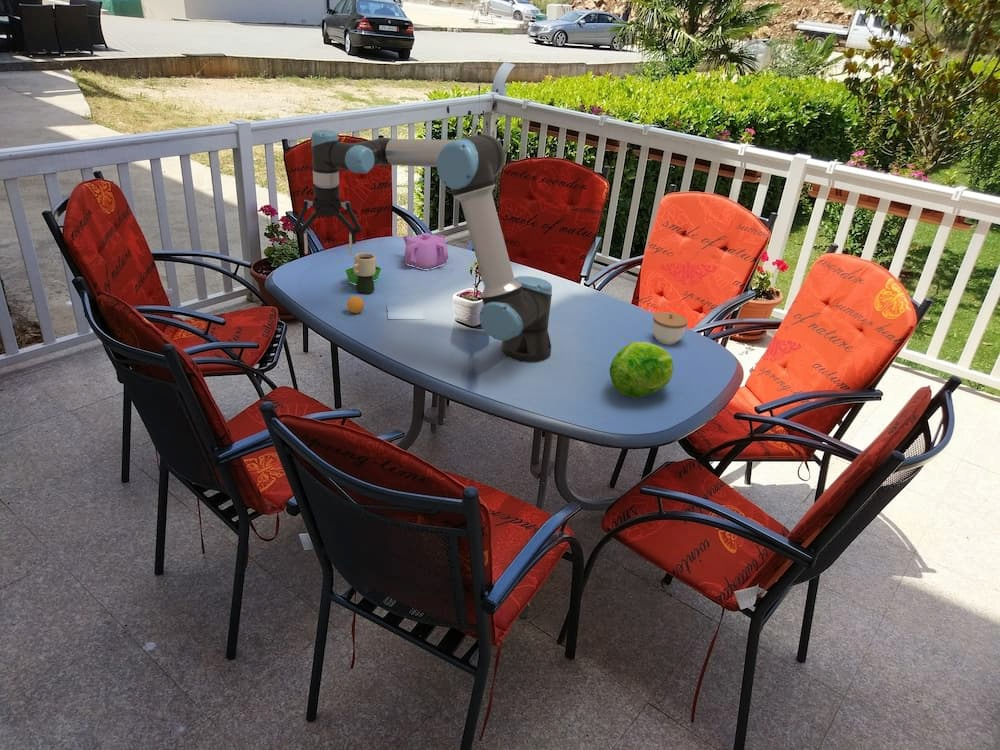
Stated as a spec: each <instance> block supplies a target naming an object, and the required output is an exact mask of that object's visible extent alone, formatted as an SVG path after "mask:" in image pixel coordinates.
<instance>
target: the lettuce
mask: <svg viewBox="0 0 1000 750" xmlns="http://www.w3.org/2000/svg"><path fill="white" fill-rule="evenodd" d="M673 372H674V364H673V357H672V355H671V354H670V353H669V352H668V351H666V350H665V349H664V348H663V347H661V346H659V345H656V344H653V343H651V342H648V341H633V342H630V343H628V344H627V345H625V346H624V347H622V348H621V349H620V350H619V351H618V353H616V354H615V356H613V359H612V360H611V364H610V367H609V376H610V380H611V383H612V385H613V387H614V389H615V390H616V391H617V392H618V393H619V394H620V395H622V396H626V397H630V398H634V399H639V398H642V397H645V396H649V395H653V394H655V393H657V392H658V391H660V390H662V389H663V388H664V387H666V386H667V385H668V384H669V383H670V380H671V379H672V378H673Z"/></svg>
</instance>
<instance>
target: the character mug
mask: <svg viewBox="0 0 1000 750" xmlns="http://www.w3.org/2000/svg"><path fill="white" fill-rule="evenodd" d="M353 260H354V261H353V265H352V268H353V271H354V274H357V275H359V276H358V278H357V286H356V288H355V290H356V291H357V292H358V293H362V292H363V294H365V293H366V294H370V293H373V291H374V292H375V284H374V283H375V282H374V281H373V277H372V276H373V275H374V274H375V271H376V270H375V266H376V267H377V258H376V255H374V254H373V253H369V252H359V253H356V254H355V255H354V259H353Z"/></svg>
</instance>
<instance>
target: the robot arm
mask: <svg viewBox="0 0 1000 750" xmlns="http://www.w3.org/2000/svg"><path fill="white" fill-rule="evenodd" d="M310 148H311V158H312V159H311V160H312V180H313V182H312V183H313V184H314V185H313V200H308V199H306V198H305V199H303V203H302V204H303V205H302V208H301V211H300V213H299V216H298V217H297V219H296V221H295V223H294V225H293V226H294V227H293V231H294V232H299V237H300V239H299V240H300V242H301V244H303V245H304V254H305V255H308V252H309V247H308V231H307V229H308V228H309V227H310V226H311V225H312V223H313V222H314V221H315V220H316V219H317V218H318V216H322V217H332V218H333V217H334V216H335V217H336V218H337V219H338V220H339V221H340V222H341V223H342V224H343V225H344V226H345V228H346V229H347V230H348V232H349V235H348V238H349V239H348V240H349V241H348V242H349V245H348V247H349V255H350V256H352V255H353V245H355V244H356V242H357V241H356V235H357V234H358V233H361V232H362V226H361V225H360V222H359V221H358V218H357V216H356V215H355V213H354V212H353V209H352V206H351V202H350V201H349V200H346V201H341V199H340V186H339V185H340V170H344V171H348V172H352V173H354V174H368V173H369V172H370V171H371V170H372V169H373V168H374V167H378V166H404V167H405V166H407V167H425V168H426V167H427V168H428V167H430V168H431V167H432V168H436V171H437V175H438V177H439V179H440V181H441V183H443V184H444V185H445V186H446V187H447V188H449V189H450V190H451V193H452V197H453V198H454V199H456V200H457V201H459V202H460V205H461V207H462V212H463V216H464V219H465V222H466V226H467V229H468V233H469V236H470V237H469V238H470V241H471V244H472V248H473V252H474V254H475V259H476V261H477V266H478V269H479V274H480V276H481V280H482V283H483V287H484V288H483V290H482V293H481V294H480V296H481V300H482V305H483V306H482V307H481V310H480V312H479V316H478V317H479V323H480V326H481V327H482V329H483V331H484V333H486V334H487V335H488V336H490V337H492V338H493V339H495V340H498V341H501V349H502V350H501V353H502V352H503V353H504V354H505V355H504V354H503V353H502V354H503V355H504V356H505V357H507V356H508V357H507V358H509V357H510V358H509V359H511V358H512V359H511V360H514V359H515V361H517V360H518V362H522V361H526V362H525V363H536V362H537V363H538V362H541V361H544V360H547V359H548V358H549V357H550V356H551V354H552V353H551V352H552V342H551V338H550V335H549V331H548V329H549V322H550V321H549V320H550V313H551V304H552V298H553V297H552V296H553V285H552V284H551V283H550V282H549V281H548V280H546V279H543V278H539V277H536V276H527V275H526V276H523V275H521V276H516V277H515V276H514V272H513V269H512V265H511V261H510V258H509V253H508V250H507V246H506V242H505V238H504V234H503V231H502V228H501V227H502V226H501V223H500V220H499V216H498V213H497V208H496V204H495V199H494V196H493V191H494V189H495V188H496V182H495V176H497V175H499V173H500V172H501V170H502V168H503V167H504V165H505V164H504V163H505V161H506V160H505V158H506V154H505V149H504V147H503V145H502V144H501V141H499V140H498V139H497V138H495V137H494V136H492V135H488V134H477V135H475V136H474V135H473V136H470V135H468V136H464V137H463V138H458V139H457V138H456V139H415V138H412V139H411V138H410V139H409V138H408V139H406V138H403V139H402V138H392V137H378V138H375V139H371V140H370V139H369V140H366V141H358V142H353V143H349V142H343V141H340V140H339V136H338V133H337V132H335V131H334V130H333V131H332V130H326V129H325V130H323V129H322V130H321V129H320V130H314V131H313V132H312V133H311V146H310ZM339 169H340V170H339ZM311 206H312V207H313V209H315V210H314V211H313V213H312V214H311V215H310V216H309V218H307V220H306V221H305V222H304V223H303V224H302V226H300V225H301V223H302V221H303V219H304V217H305V215H306V213H307V210H308V209H310V208H311ZM341 207H343V209H344V210H346V212H347V214H348V216H349V218H350V220H351V221H352V223H353V225H354V226H353V225H352V224H351V222H350V221H348V219H347V218H346V217H345V216H344V215H343V213H342V212H341V211H340V209H341Z"/></svg>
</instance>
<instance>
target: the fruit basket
mask: <svg viewBox="0 0 1000 750" xmlns="http://www.w3.org/2000/svg"><path fill="white" fill-rule="evenodd" d="M375 270H376V271H375V274H374V275H373V276H372V277H373V280H376V279H378V280H379V276H380V272H381V270H382V268H381V267H378V266H377V265H376V266H375ZM345 274H346V276H347V279H348V282H349V281H350V282H352V283H355V284H357V278H358V276H359V275H357V274H354V271H353V267H352V268H348V269H347V268H346V269H345Z"/></svg>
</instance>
